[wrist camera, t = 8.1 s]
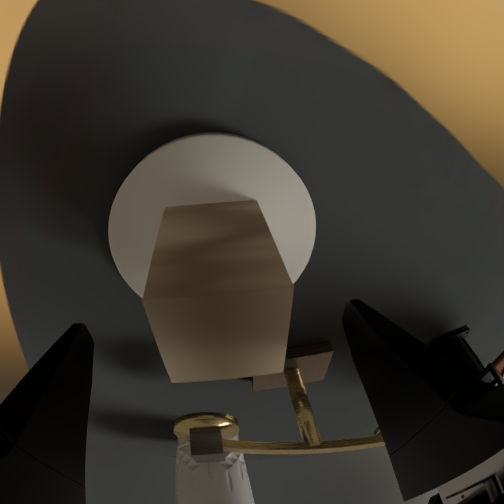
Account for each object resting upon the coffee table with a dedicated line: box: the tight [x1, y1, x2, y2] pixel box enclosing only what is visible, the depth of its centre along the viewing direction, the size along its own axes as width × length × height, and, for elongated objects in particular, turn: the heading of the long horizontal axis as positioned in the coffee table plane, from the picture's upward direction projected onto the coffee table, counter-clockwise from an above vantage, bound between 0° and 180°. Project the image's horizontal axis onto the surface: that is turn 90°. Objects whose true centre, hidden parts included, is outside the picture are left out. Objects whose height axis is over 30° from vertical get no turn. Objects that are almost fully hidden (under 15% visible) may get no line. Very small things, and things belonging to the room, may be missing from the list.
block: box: [142, 200, 294, 383], centre depth 11 cm, size 4×4×6 cm
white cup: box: [176, 434, 255, 504], centre depth 23 cm, size 8×8×10 cm
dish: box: [108, 132, 316, 299], centre depth 14 cm, size 10×10×1 cm
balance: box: [174, 341, 385, 463], centre depth 18 cm, size 18×4×9 cm, turn 90°
